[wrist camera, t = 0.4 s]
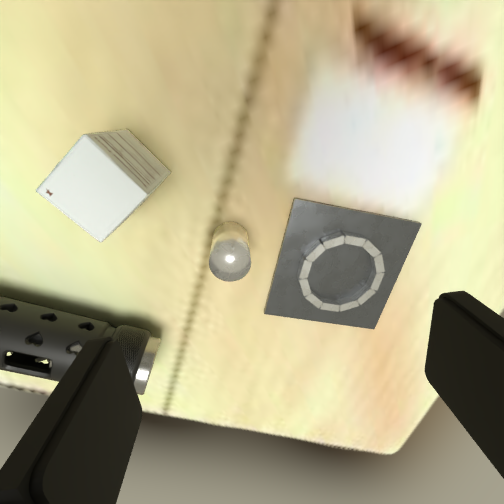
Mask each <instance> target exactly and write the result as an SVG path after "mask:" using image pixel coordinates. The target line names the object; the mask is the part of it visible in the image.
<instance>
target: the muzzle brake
mask: <svg viewBox="0 0 504 504" xmlns="http://www.w3.org/2000/svg"><path fill="white" fill-rule="evenodd" d="M101 337H111V338H112V339H113V340H114V341H118V342H119V343H120V346H121V349H122V351H123V354H124V357H125V360H126V363H127V366H128V369H129V372H130V375H131V378H132V381H133V383H134V386H135V389H136V392H137V394H140V395H143V394H144V392H145V389H146V386H147V382H148V379H149V376H150V373H151V370H152V367H153V364H154V360H155V357H156V354H157V351H158V348H159V345H160V341H161V339H160V338H156V337H152V336H151V333H150V332H149V331H148V330H145V329H141V328H137V327H133V326H128V325H123V326H121V325H120V326H119V327H113V326H110V324H109V323H108V322H104V321H100V320H96V319H91V318H88V317H84V316H80V315H76V314H72V313H67V312H63V311H59V310H55V309H51V308H47V307H43V306H39V305H35V304H31V303H26V302H22V301H18V300H15V299H11V298H6V297H2V296H0V370H5V371H10V372H15V373H20V374H25V375H30V376H35V377H39V378H44V379H49V380H54V381H59V382H60V380H61V379H62V377H63V376H64V374H65V373H66V371H67V370H68V368H69V367H70V365H71V364H72V362H73V361H74V359H75V358H76V356H77V355H78V353H79V352H80V350H81V349H82V347H83V346H84V344H85V343H86V342H87V341H88V340H89V339H94V338H101ZM7 352H11V354H12V355H10V356H6V355H7ZM46 359H47V361H48V362H49V363H48V364H44V363H42V362H40V361H43V360H46Z"/></svg>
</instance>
